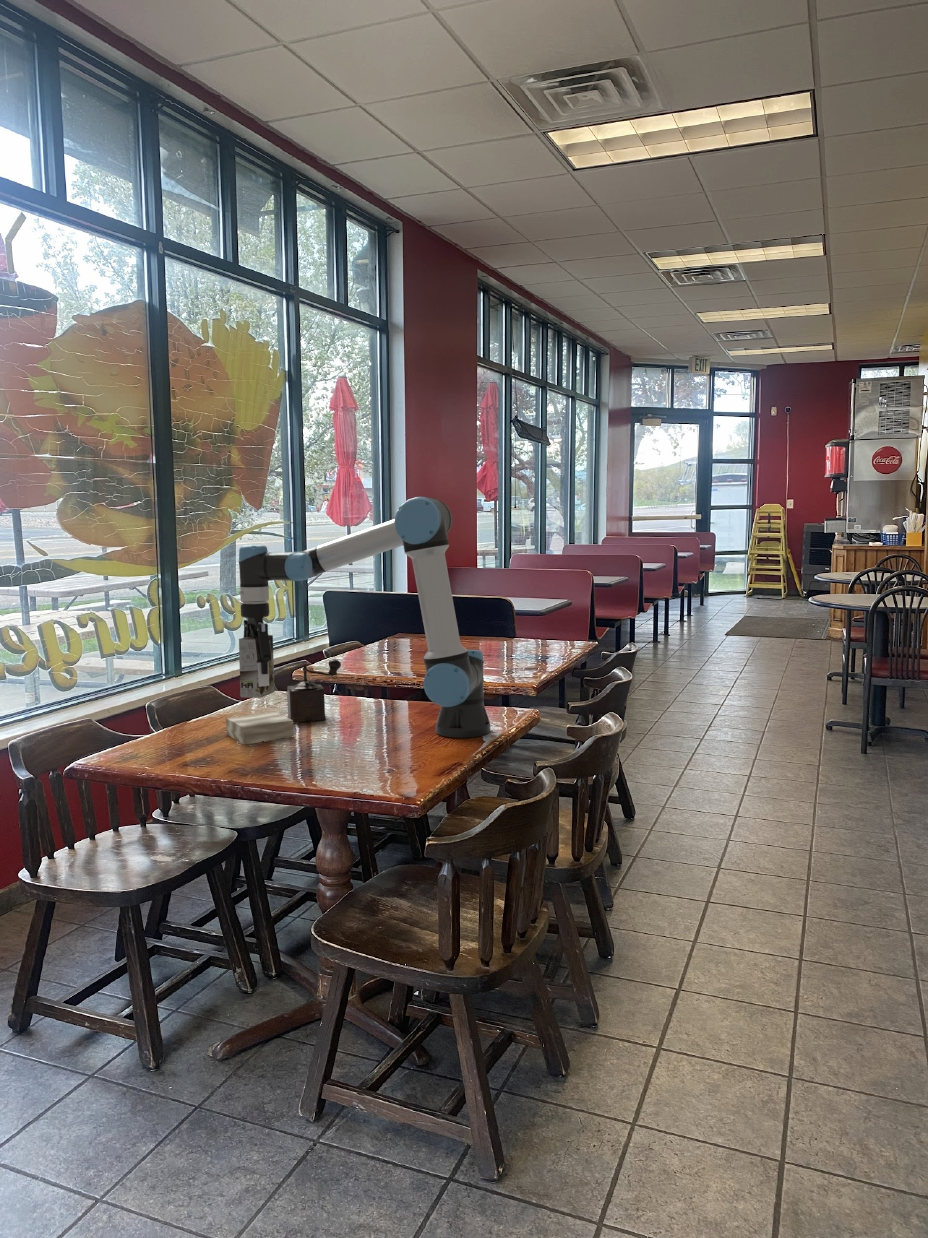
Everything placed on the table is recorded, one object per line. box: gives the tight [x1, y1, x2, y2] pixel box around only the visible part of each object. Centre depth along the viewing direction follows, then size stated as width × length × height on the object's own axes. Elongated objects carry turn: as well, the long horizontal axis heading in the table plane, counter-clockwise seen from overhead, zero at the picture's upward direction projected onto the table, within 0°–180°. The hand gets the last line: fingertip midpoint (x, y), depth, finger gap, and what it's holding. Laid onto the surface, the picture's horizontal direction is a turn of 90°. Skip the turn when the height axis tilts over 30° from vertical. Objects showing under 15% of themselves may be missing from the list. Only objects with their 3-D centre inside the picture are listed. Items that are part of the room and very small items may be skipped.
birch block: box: [225, 711, 295, 745], centre depth 249 cm, size 14×14×5 cm
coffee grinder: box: [287, 658, 342, 723], centre depth 270 cm, size 16×11×18 cm
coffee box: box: [238, 634, 276, 699], centre depth 247 cm, size 9×6×16 cm
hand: (257, 682), depth 248 cm, fingers closed on coffee box, 10 cm apart
